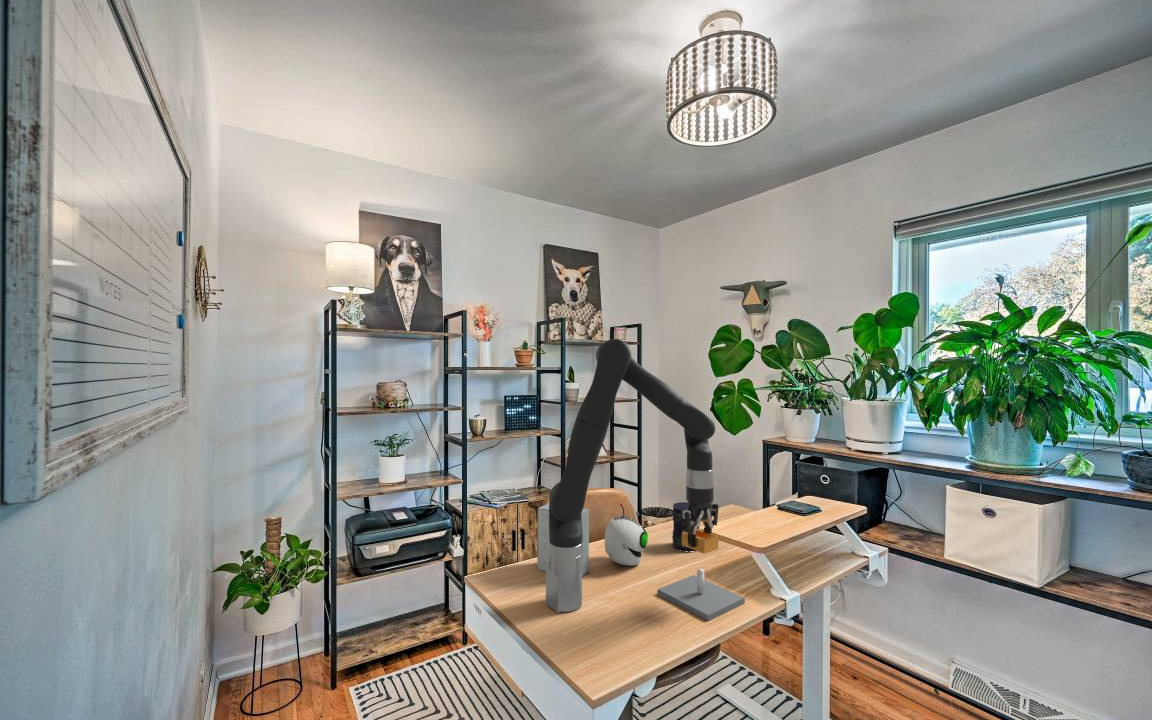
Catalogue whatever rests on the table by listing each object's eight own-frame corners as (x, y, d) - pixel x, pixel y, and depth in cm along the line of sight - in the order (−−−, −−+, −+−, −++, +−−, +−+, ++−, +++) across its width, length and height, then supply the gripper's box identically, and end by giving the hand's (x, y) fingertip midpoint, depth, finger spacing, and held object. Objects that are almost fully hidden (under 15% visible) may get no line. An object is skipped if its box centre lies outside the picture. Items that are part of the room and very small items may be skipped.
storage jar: (683, 540, 184) (684, 500, 184) (705, 548, 177) (706, 506, 177) (666, 546, 178) (667, 505, 178) (688, 554, 170) (689, 512, 170)
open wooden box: (704, 553, 132) (704, 540, 132) (681, 545, 139) (681, 532, 139) (718, 548, 136) (718, 535, 136) (695, 540, 142) (695, 527, 142)
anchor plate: (708, 621, 127) (708, 588, 127) (657, 594, 141) (657, 564, 141) (744, 603, 136) (744, 572, 136) (693, 579, 151) (693, 552, 151)
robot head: (646, 576, 153) (647, 512, 153) (601, 572, 155) (601, 509, 155) (648, 556, 169) (648, 498, 169) (606, 552, 171) (607, 495, 171)
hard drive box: (589, 571, 156) (590, 509, 156) (577, 581, 149) (578, 515, 149) (549, 561, 164) (549, 501, 164) (536, 569, 157) (536, 507, 157)
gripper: (693, 491, 130) (693, 554, 130) (726, 483, 139) (727, 542, 138) (672, 485, 136) (672, 545, 136) (705, 478, 145) (705, 534, 145)
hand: (700, 543), depth 137 cm, fingers closed on open wooden box, 6 cm apart
